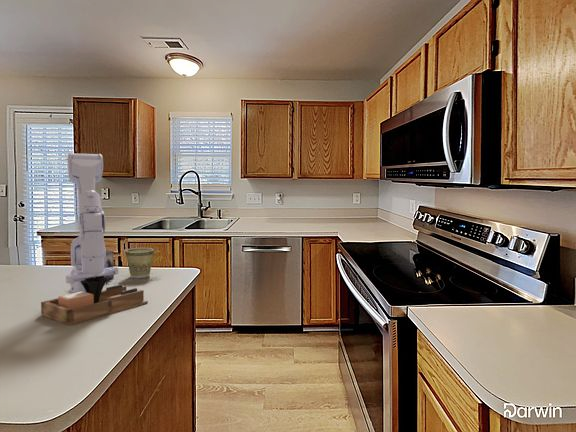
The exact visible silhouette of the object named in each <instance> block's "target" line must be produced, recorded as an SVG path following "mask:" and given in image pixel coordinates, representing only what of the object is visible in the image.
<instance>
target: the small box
mask: <svg viewBox="0 0 576 432" xmlns="http://www.w3.org/2000/svg"><path fill="white" fill-rule="evenodd" d="M114 257H115V256H114V250H107V249H106V263H105V264H104V268H110V267H115V266H114V265H115V263H114V261H115V260H114ZM114 277H115V275H114V274H113V275H108V276H104V278H106V279H107V281H106V282H108V281H110V280H114V279H115V278H114Z"/></svg>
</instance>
